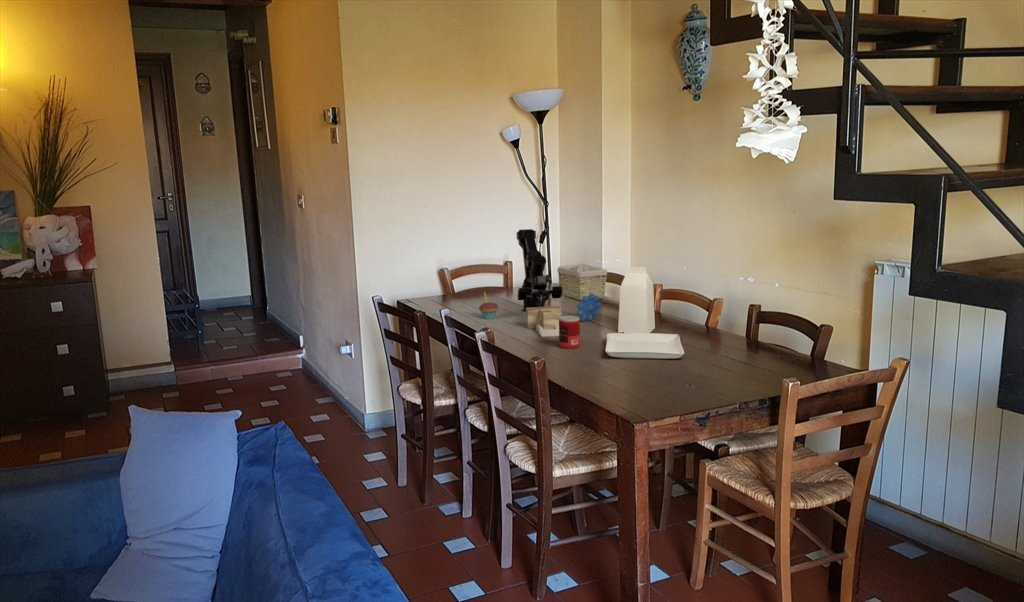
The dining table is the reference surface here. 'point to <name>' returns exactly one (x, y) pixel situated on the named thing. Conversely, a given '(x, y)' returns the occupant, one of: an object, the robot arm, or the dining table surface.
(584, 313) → the grapes
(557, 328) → the slot guide
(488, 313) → the cupcake
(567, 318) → the canned food
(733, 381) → the dining table surface
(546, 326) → the t block
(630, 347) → the square plate
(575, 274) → the storage basket
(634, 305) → the milk
